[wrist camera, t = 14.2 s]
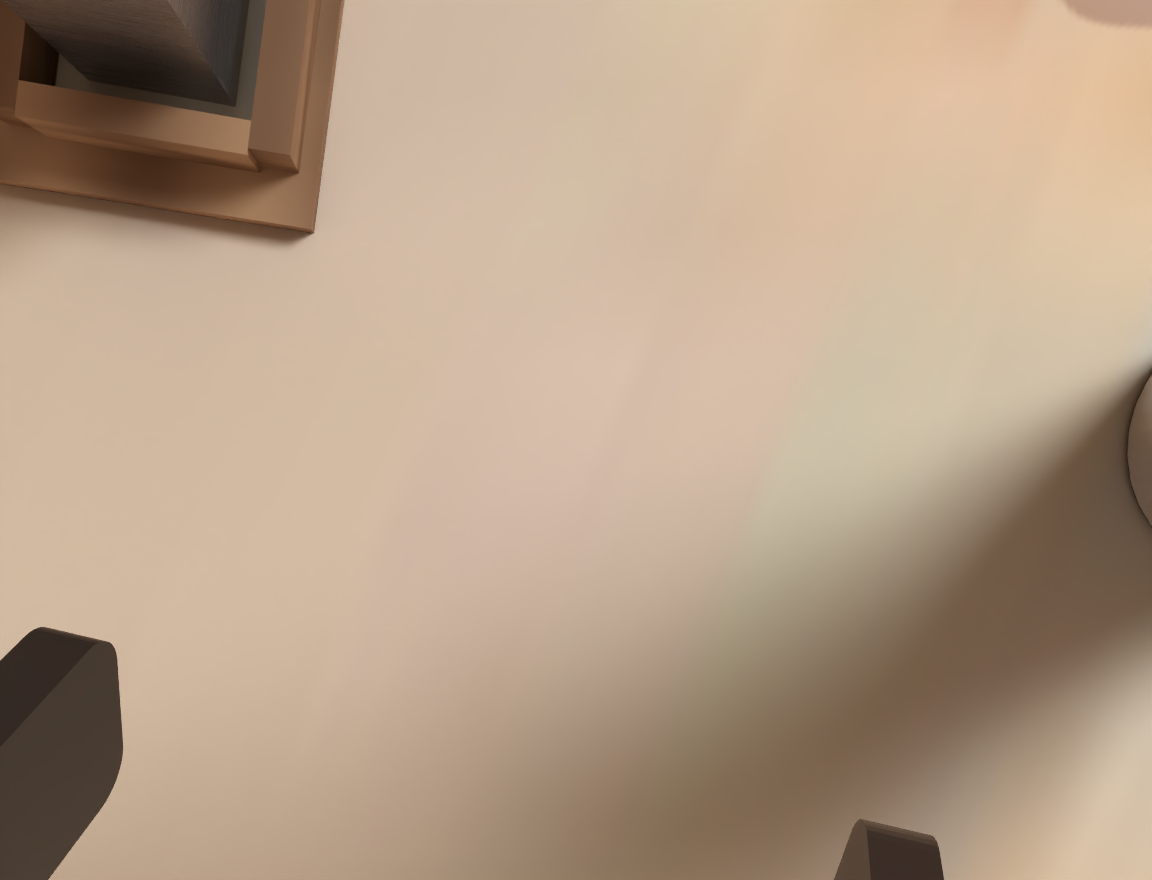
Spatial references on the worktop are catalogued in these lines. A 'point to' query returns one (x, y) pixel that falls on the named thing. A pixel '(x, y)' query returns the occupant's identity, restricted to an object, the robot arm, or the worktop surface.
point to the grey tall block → (148, 42)
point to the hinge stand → (179, 124)
